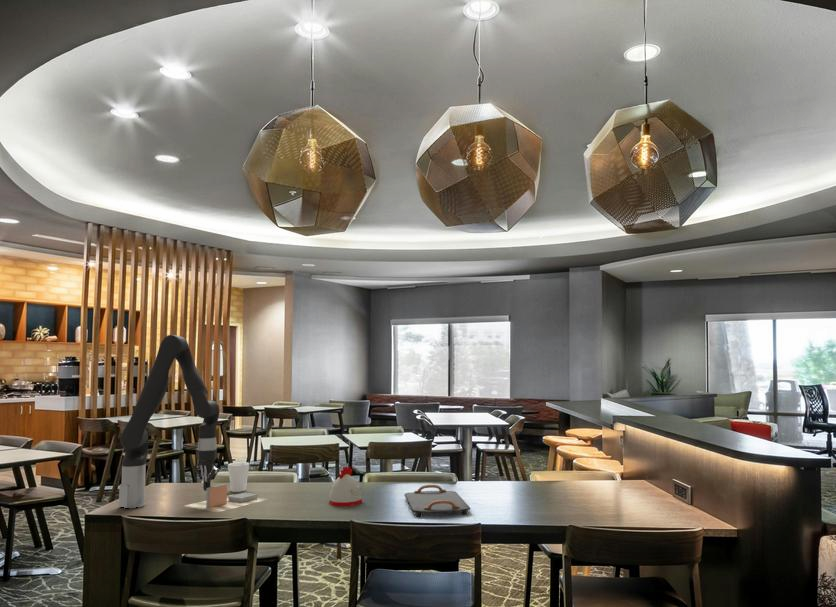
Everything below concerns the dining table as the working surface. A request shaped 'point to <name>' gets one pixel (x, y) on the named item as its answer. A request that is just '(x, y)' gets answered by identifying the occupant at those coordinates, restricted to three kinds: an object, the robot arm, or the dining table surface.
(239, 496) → the far tile
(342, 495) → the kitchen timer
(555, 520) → the dining table surface
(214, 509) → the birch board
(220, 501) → the near tile
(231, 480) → the foam cup
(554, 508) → the dining table surface
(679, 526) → the dining table surface
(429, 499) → the serving board
